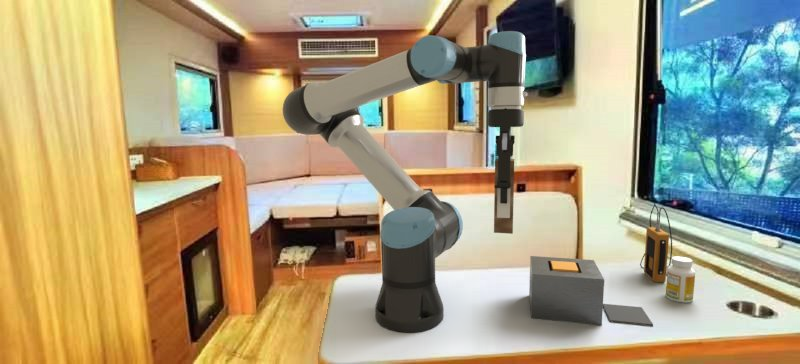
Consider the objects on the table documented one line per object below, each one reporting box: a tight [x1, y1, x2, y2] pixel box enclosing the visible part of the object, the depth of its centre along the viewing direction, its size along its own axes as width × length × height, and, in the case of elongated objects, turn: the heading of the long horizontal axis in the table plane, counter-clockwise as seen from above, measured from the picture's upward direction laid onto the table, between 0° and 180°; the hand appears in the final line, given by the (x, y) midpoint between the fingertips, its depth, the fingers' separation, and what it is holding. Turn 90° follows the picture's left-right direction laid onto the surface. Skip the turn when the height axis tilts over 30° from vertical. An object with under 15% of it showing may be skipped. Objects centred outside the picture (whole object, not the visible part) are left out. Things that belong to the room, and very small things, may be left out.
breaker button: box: [551, 261, 579, 273], centre depth 92 cm, size 5×5×6 cm
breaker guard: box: [528, 255, 605, 326], centre depth 92 cm, size 14×12×10 cm
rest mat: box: [603, 303, 654, 327], centre depth 89 cm, size 8×8×1 cm
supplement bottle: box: [665, 255, 696, 304], centre depth 96 cm, size 5×5×10 cm
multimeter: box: [639, 203, 673, 283], centre depth 107 cm, size 15×10×20 cm
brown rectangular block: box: [493, 158, 515, 235], centre depth 91 cm, size 4×4×16 cm
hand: (503, 214), depth 91 cm, fingers closed on brown rectangular block, 4 cm apart
